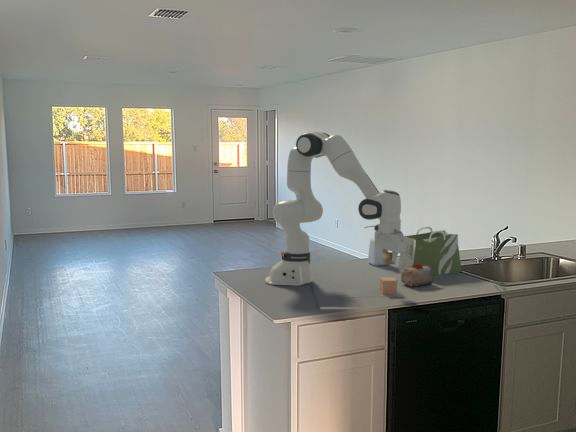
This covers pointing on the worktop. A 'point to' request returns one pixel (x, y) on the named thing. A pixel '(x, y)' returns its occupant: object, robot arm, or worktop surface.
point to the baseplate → (371, 293)
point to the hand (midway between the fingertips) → (389, 260)
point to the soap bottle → (375, 253)
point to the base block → (388, 285)
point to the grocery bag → (431, 252)
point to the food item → (417, 275)
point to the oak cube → (387, 258)
